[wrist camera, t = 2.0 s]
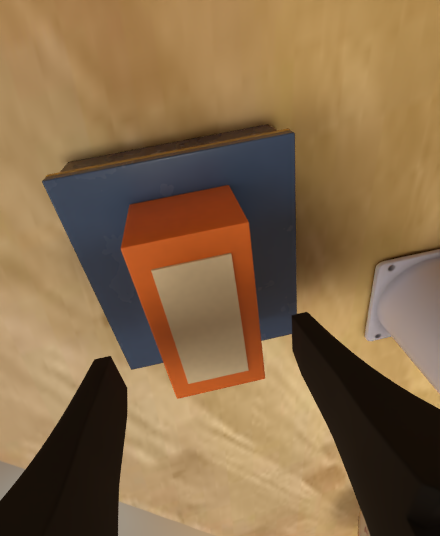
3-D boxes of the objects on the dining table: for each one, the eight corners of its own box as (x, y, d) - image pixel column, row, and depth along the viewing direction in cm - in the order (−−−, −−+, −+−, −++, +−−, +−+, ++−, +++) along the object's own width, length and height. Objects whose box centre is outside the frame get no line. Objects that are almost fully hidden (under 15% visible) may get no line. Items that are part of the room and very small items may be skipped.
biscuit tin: (272, 118, 17) (295, 131, 14) (280, 299, 24) (297, 333, 21) (61, 158, 16) (40, 180, 13) (134, 331, 23) (130, 370, 20)
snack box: (129, 204, 14) (119, 249, 11) (228, 184, 15) (249, 223, 11) (174, 341, 19) (177, 401, 16) (247, 324, 20) (265, 380, 16)
